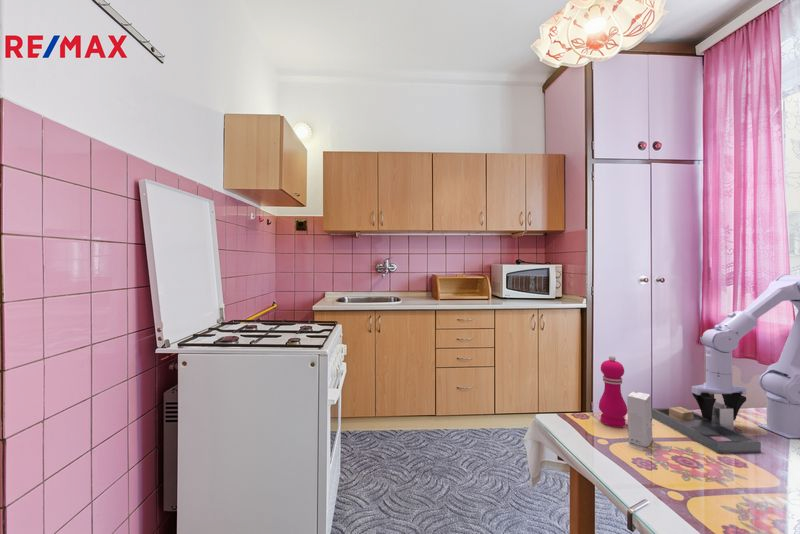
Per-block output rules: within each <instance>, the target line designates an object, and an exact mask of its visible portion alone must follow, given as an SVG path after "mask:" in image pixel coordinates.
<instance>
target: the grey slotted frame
mask: <svg viewBox="0 0 800 534" xmlns="http://www.w3.org/2000/svg"><path fill="white" fill-rule="evenodd" d="M669 408H670V407H654V408H653V407H651V415H652V419H653V420H655V421H658V422H660V423H662V424H664V425H665V426H667V427H669V428H671V429H673V430H674V431H676V432H678V433H679V434H682V435H683V436H685V437H687V438H689V439H691V440H693V441H695V443H699V444H700V445H702V446H704V447H706V448H708V449H709V450H711V451H713V452H715V453H717V454H737V453H738V454H743V453H744V454H745V453H762V447H761V446H762V443H761V441H759V440H757V439H754V438H753V437H750V436H748V435H747V434H744V433H742V432H740V431H737V430H735V429H734V430H733V429H731V428H729V427H726V426H724V425H722V424H720V423H717V422H715V421H713V420H708V419H706V418H704V417H702V414H700V413H697V412H695V411H693V410H691V409H689V408H687V407H683V408H684V409H687V410H690V411H692V412H693V420H680V421H677V420H676V419H674V418H672V417H670V416H669ZM711 436H722V437H724V438H726V439H729V440H717V439H715V438H713V437H711Z"/></svg>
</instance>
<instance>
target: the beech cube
mask: <svg viewBox="0 0 800 534" xmlns="http://www.w3.org/2000/svg"><path fill="white" fill-rule="evenodd" d="M668 408H669V416H670V417H672V418H674V419H676V420H677V421H680V420H693V412H694V411H693V410H691V409H689V410H687V409H688V408H687V409H684V408H685V407H681V406H672V407H668ZM690 410H691V411H690ZM692 411H693V412H692Z"/></svg>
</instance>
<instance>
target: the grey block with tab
mask: <svg viewBox="0 0 800 534" xmlns="http://www.w3.org/2000/svg"><path fill="white" fill-rule="evenodd" d="M712 420H713V421H715V422H717V423H720V424H722V425H724V426H726V427H729V428H731V429H733V430H735V429H734V427H735V424H734V422H735V420H734V416H733V408H730V407H728V406H726V405H725V404H723V403H721V402H718V401H717V400H716V401H715V403H714V406H713V411H712Z"/></svg>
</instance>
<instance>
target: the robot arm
mask: <svg viewBox="0 0 800 534" xmlns="http://www.w3.org/2000/svg"><path fill="white" fill-rule="evenodd" d="M785 301H789V302H790V303H791V304H793V305H794V307H795V308H796V310H798V311H797V313H796V316H795V319H794V321H793V323H792V326H791V328H790V331H789V334H788V336H787V338H786V341H785V344H784V346H783V349H782V350H781V353H780V356H779V358H778V361H777V362H775V363H772V364H769V365H768V367H767V369H766V370H765V371H764V372H763V373H762V374H761V375H760V376H759V378H758V384H759V386H760V388H761V390H764V395H765V397H766V402H765V403H766V423H757V426H758V427H760V428H762V429H765V430H767V431H770V432H773V433H775V434H776V435H779V436H782V437H784V438H787V439H800V274H790V273H789V274H788V273H785V274H781V275H779V276H777V277H776V278H775V280H772V281H771V282H769V284H768V287H767V288H766V289H765V290H764V291H763V292H762V293H761V294H760V295H759V296H758V297H756V298H755V299H754V300H753V301H752V302H751V303H750V304H749V305H748V306H747V307H746V308H745V309H743V310H734V311H733V312H729V313H727V317H726V318H725V319H724V320H722V321H721V322H720V323H719V324H715V325H714V328H711V329H706V330H705V331H704V332H703V334H702V336H700V337H699V338H700V342H701V344H702V345H703V346H704V352H705V353H704V355H705V358H704V359H705V361H704V362H705V364H704V365H705V378H704V379H705V382H703V384H699V385H692V386H691V394H692V396H693V397H694V399H695V401H696V402H697V404H698V407H699V410H700V413H701V415H702V417H704V418H706V419H708V420H712V411H713V406H714V403H715V401H716V402H717V398H715V397H712V396H711V395H721V397H722V399H723V403H724V405H726V406H728V407H730V408H733V416H734V421H736V419H737V416H738V413H739V411H740V409H741V407H742V406H743V404H744V403H745V402H747V397H746V396H745V395H747V388H746V387H744V386H742V385H741V386H740V385H733V351H734V350H736V349H737V348H738V347H739V341H740V340H741V339H742V338H743V337H744V336H746V335H747V334H748V333H749V332H751V331H752V330H753V329H754V328H755V327H757V326H758V322H757V321H758V319H759V318H760V317H762V316H763V315H764V314H766V313H767V312H769V311H770V310H772V309H773V308H775V307H776V306H777V305H779V304H780V303H782V302H785Z"/></svg>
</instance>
